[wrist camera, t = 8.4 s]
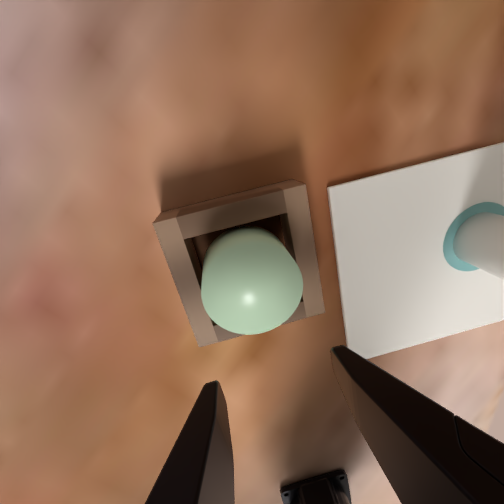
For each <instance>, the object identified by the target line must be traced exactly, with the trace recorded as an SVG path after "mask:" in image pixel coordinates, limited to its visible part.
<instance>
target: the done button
mask: <svg viewBox="0 0 504 504" xmlns="http://www.w3.org/2000/svg"><path fill="white" fill-rule="evenodd" d="M302 292H303V278H302V274H301V271H300V269H299V267H298V265H297V263H296V262H295V260H294V259H293V258H292V256H291V255H290V254H289V252H288V251H287V249H286V248H285V247H284V245H283V244H282V242H281V241H280V240H279V239H278V238H277V237H276V236H275V235H274V234H273V233H271V232H270V231H268V230H266V229H263V228H260V227H256V226H239V227H235V228H232V229H229V230H227V231H225V232H223V233H222V234H220V235H219V236H218V237H217V238H216V239H215V240H214V241H213V242H212V243H211V244H210V246H209V247H208V249H207V251H206V254H205V257H204V261H203V272H202V285H201V297H202V302H203V306H204V308H205V310H206V312H207V314H208V315H209V317H210V318H211V319H212V320H213V321H214V322H215V323H216V324H217V325H219V326H220V327H222V328H224V329H226V330H228V331H231V332H234V333H238V334H245V335H252V334H259V333H264V332H267V331H270V330H272V329H274V328H276V327H278V326H280V325H281V324H282V323H284V322H285V321H286V320H287V319H288V318H289V317H290V316H291V315H292V314H293V313H294V311H295V310H296V308H297V307H298V305H299V303H300V300H301V297H302Z"/></svg>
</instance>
